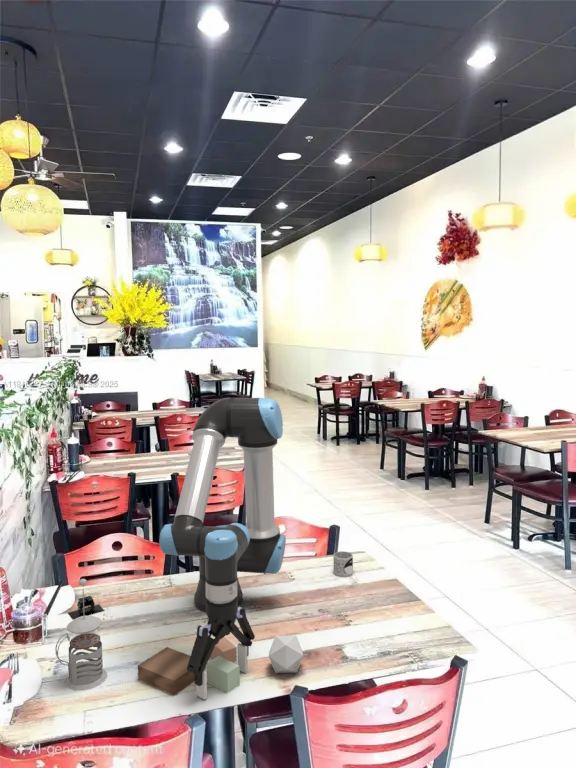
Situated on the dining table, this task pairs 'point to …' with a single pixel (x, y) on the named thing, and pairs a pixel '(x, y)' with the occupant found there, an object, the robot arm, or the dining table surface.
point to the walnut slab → (166, 671)
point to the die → (285, 654)
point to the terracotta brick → (225, 650)
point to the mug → (343, 564)
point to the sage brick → (223, 674)
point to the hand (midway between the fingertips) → (222, 683)
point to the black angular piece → (88, 610)
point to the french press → (87, 671)
